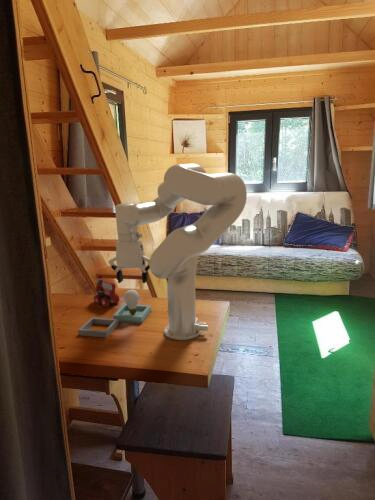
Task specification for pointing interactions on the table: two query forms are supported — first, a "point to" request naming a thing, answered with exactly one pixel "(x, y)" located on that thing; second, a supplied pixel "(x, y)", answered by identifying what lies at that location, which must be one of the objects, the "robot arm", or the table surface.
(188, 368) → the table surface
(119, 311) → the tray
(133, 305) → the light bulb
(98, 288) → the toy fire truck
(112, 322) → the holder
